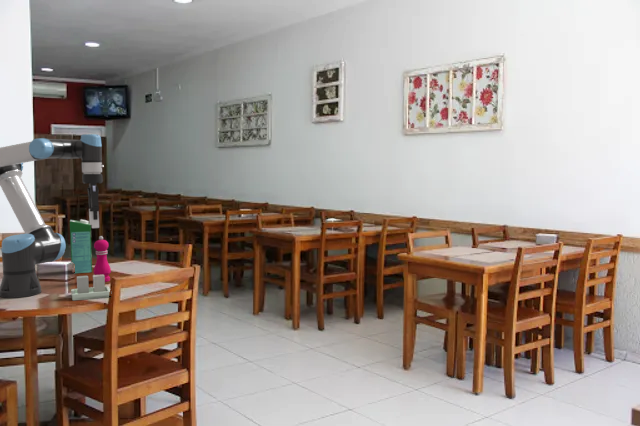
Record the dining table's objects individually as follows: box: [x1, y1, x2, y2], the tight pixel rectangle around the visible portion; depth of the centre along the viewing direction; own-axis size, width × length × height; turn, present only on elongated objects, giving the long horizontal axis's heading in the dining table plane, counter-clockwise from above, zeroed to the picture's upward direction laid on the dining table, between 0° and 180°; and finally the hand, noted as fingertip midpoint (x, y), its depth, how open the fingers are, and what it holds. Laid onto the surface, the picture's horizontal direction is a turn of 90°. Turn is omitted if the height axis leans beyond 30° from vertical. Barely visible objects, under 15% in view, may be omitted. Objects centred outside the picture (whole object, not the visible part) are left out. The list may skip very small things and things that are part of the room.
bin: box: [70, 285, 111, 301], centre depth 234 cm, size 14×11×2 cm
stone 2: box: [92, 274, 106, 292], centre depth 235 cm, size 4×4×7 cm
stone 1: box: [76, 275, 90, 294], centre depth 232 cm, size 4×4×7 cm
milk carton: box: [69, 219, 93, 274], centre depth 285 cm, size 9×9×25 cm
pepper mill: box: [93, 235, 112, 283], centre depth 262 cm, size 7×7×20 cm
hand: (94, 226), depth 239 cm, fingers open, 13 cm apart
